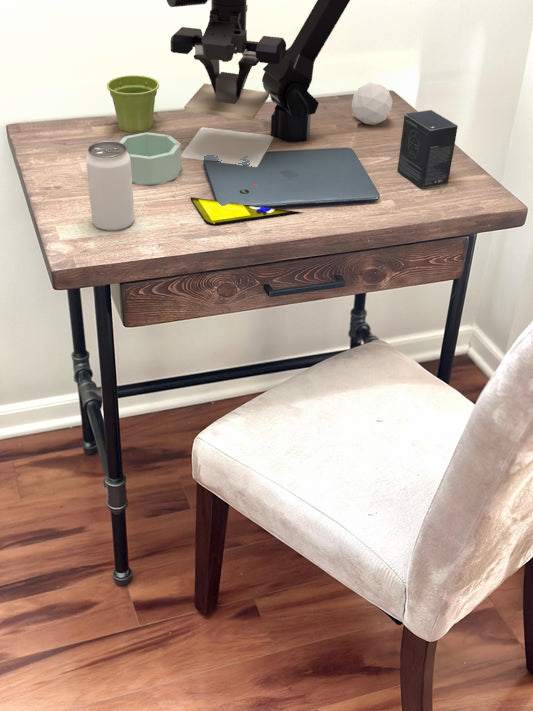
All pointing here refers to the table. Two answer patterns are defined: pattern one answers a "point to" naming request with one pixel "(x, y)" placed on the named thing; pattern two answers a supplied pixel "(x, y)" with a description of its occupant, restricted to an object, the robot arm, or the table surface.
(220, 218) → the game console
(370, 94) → the geometric ball
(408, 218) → the table surface
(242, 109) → the lid
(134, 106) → the plant pot
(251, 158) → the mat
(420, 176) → the box
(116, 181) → the can
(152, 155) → the bowl
